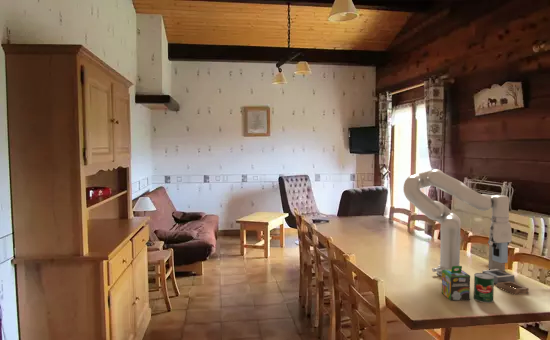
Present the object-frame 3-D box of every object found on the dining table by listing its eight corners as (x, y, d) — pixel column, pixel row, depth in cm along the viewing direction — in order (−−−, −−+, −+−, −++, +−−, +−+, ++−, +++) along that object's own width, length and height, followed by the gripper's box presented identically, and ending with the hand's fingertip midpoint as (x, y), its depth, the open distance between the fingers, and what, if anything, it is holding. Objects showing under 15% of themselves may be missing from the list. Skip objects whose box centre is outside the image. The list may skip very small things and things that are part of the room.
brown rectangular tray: (514, 294, 183) (514, 290, 183) (497, 287, 193) (497, 282, 193) (528, 292, 185) (528, 288, 185) (510, 285, 195) (510, 281, 195)
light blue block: (501, 263, 197) (501, 242, 197) (492, 260, 203) (492, 239, 202) (507, 262, 198) (507, 241, 198) (498, 259, 204) (498, 239, 203)
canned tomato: (487, 295, 182) (487, 272, 181) (497, 302, 174) (498, 278, 174) (470, 296, 182) (470, 272, 181) (479, 303, 174) (480, 278, 173)
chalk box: (460, 292, 186) (461, 262, 185) (470, 300, 177) (471, 268, 176) (440, 293, 186) (441, 262, 185) (450, 300, 177) (450, 268, 176)
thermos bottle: (508, 271, 217) (509, 221, 215) (496, 272, 214) (498, 221, 213) (496, 267, 224) (498, 218, 222) (484, 268, 222) (486, 219, 220)
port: (497, 285, 196) (497, 276, 195) (482, 278, 205) (482, 270, 205) (514, 283, 198) (514, 275, 198) (498, 277, 208) (498, 269, 207)
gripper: (492, 222, 194) (491, 258, 195) (519, 219, 198) (519, 256, 199) (480, 219, 201) (480, 255, 202) (507, 217, 205) (507, 252, 206)
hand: (499, 255), depth 201 cm, fingers closed on light blue block, 3 cm apart
